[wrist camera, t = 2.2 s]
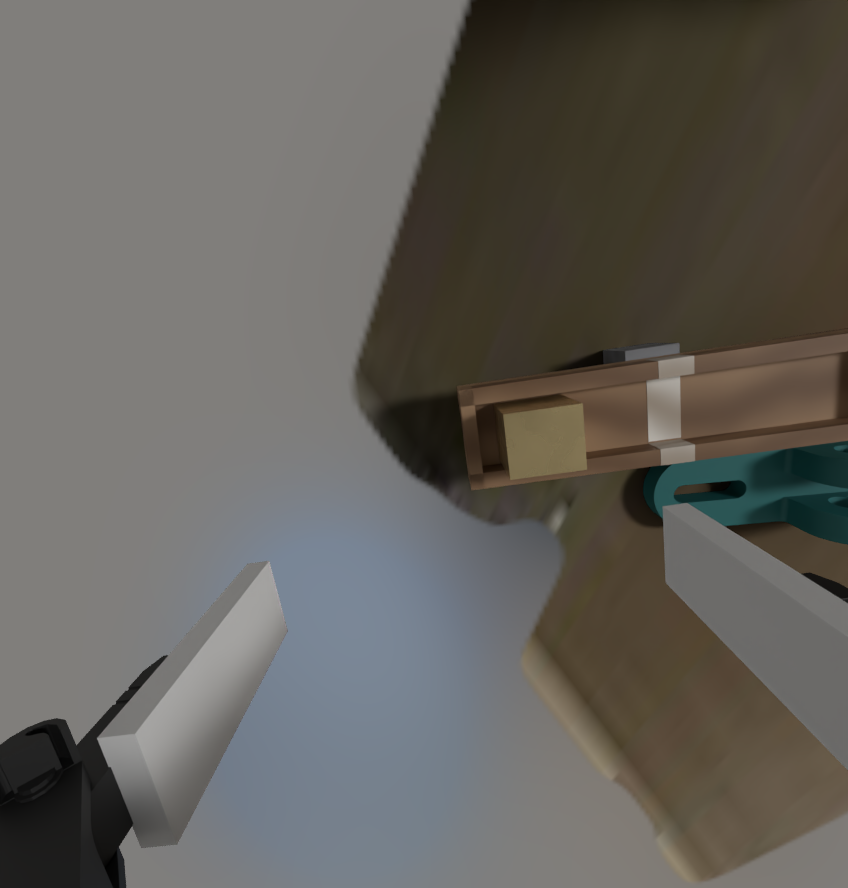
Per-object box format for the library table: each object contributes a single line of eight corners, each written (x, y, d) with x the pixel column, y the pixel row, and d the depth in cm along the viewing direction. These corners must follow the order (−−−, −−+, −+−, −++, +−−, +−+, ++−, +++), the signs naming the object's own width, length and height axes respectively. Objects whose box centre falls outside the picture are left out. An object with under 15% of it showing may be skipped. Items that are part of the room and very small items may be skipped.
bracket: (848, 433, 38) (952, 456, 30) (840, 504, 39) (937, 543, 32) (642, 453, 39) (692, 480, 31) (641, 521, 40) (689, 563, 33)
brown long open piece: (453, 372, 38) (457, 380, 30) (809, 319, 36) (909, 312, 28) (466, 469, 40) (472, 499, 32) (803, 423, 38) (896, 444, 30)
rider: (493, 403, 32) (503, 414, 27) (560, 394, 32) (582, 403, 27) (499, 459, 33) (510, 479, 28) (564, 450, 33) (587, 469, 28)
